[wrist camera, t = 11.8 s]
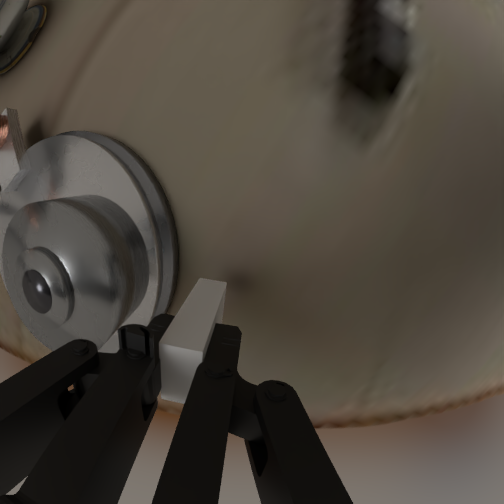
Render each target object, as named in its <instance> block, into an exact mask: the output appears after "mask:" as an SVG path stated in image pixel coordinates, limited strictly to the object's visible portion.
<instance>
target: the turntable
mask: <svg viewBox="0 0 504 504" xmlns="http://www.w3.org/2000/svg"><path fill="white" fill-rule="evenodd" d="M0 185H1V189H2V190H1V193H0V272H1V275H2V278H3V281H4V284H5V287H6V283H5V278H4V272H3V263H2V251H3V242H4V237H5V233H6V230H7V227H8V225H9V223H10V221H11V219H12V218H13V216H14V215H15V214H16V212H17V211H18V210H19V209H21V208H22V207H23V206H25V205H27V204H29V203H33V202H38V201H44V200H51V199H58V198H65V197H72V196H80V195H98V196H103V197H105V198H108V199H110V200H112V201H113V202H115V203H116V204H118V205H119V206H120V207H122V208H123V209H124V210H125V211H126V212H127V213H128V214H129V216H130V217H131V218H132V220H133V221H134V222H135V224H136V226H137V227H138V229H139V231H140V233H141V235H142V237H143V240H144V243H145V246H146V249H147V253H148V259H149V283H148V288H147V292H146V294H145V297H144V299H143V301H142V302H141V304H140V306H139V307H138V308H137V309H136V310H135V311H134V313H133V314H132V315H131V316H130V317H129V318H128V319H127V320H126V321H125V322H124V323H123V324H122V325H121V326H124V325H127V324H140V325H144V326H146V327H147V326H148V324H149V323H150V322H151V320H152V319H153V318H154V315H155V313H156V311H157V308H158V304H159V300H160V297H161V291H162V283H163V254H162V244H161V239H160V234H159V229H158V225H157V222H156V219H155V215H154V212H153V209H152V207H151V204H150V202H149V200H148V198H147V195H146V193H145V191H144V189H143V188H142V186H141V184H140V182H139V181H138V179H137V177H136V176H135V175H134V173H133V172H132V171H131V169H130V168H129V167H128V165H127V164H126V163H125V162H124V161H123V160H122V159H121V158H120V157H119V156H118V155H117V154H115V153H114V152H113V151H111V150H110V149H109V148H107V147H106V146H104V145H102V144H100V143H98V142H96V141H94V140H90V139H86V138H83V137H78V136H70V135H59V136H52V137H49V138H46V139H43V140H41V141H39V142H38V143H36V144H34V145H32V146H31V147H30V148H29V149H28V150H26V148H25V144H24V140H23V136H22V132H21V127H20V123H19V118H18V113H17V110H16V109H10V108H6V109H5V110H4V111H3V113H2V114H1V115H0ZM6 289H7V287H6ZM7 291H8V290H7ZM8 294H9V293H8ZM119 349H120V348H119V339H118V330H117V331H116V332H115V333H114V334H113V335H112V336H111V337H110V339H109V340H108V341H107V342H106V343H105V344H104V345H103V346H102V347H101V349H100V350H98V352H104V353H117V351H118V350H119Z"/></svg>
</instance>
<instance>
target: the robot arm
mask: <svg viewBox="0 0 504 504" xmlns="http://www.w3.org/2000/svg"><path fill="white" fill-rule="evenodd" d="M226 286H227V282H221V281H215V280H209V279H203V278H199V280H198V281H197V283H196V284H195V286H194V288H193V289H192V291H191V292H190V294H189V295H188V297H187V298H186V300H185V302H184V303H183V305H182V306H181V308H180V309H179V311H178V313H177V314H176V316H172V315H167V314H163V313H161V314H159V315H157V316H155V317H154V318H153V319H152V320H151V322H150V323H149V324H148V326H147V327H146V326H144V325H140V324H127V325H124V326H121V327H120V328H119V329H118V339H119V348H120V349H119V350H118V351H117V353H104V352H98V349H97V346H96V344H95V343H93V342H92V341H90V340H87V339H75V340H72V341H70V342H68V343H66V344H65V345H63V346H61V347H60V348H58V349H56V350H55V351H53V352H51V353H50V354H48V355H46V356H45V357H43V358H41V359H40V360H38V361H36V362H35V363H33V364H31V365H30V366H28V367H26V368H25V369H23V370H21V371H20V372H18V373H16V374H15V375H13V376H12V377H10V378H9V379H7V380H5V381H3V382H2V383H0V504H118V501H119V498H120V496H121V493H122V491H123V488H124V486H125V483H126V481H127V478H128V476H129V473H130V471H131V468H132V466H133V464H134V461H135V459H136V456H137V454H138V452H139V449H140V447H141V444H142V442H143V440H144V437H145V435H146V432H147V430H148V427H149V425H150V423H151V421H152V418H153V416H154V414H155V411H156V409H157V405H158V401H157V396H158V394H159V392H160V390H161V398H162V399H166V400H170V401H174V402H179V403H183V404H184V407H183V410H182V413H181V416H180V419H179V422H178V425H177V427H176V431H175V434H174V437H173V439H172V443H171V445H170V449H169V452H168V455H167V458H166V461H165V464H164V467H163V470H162V473H161V476H160V479H159V482H158V485H157V489H156V491H155V495H154V498H153V501H152V504H218V499H219V492H220V486H221V478H222V472H223V465H224V458H225V451H226V444H227V437H228V432H229V433H231V434H234V435H236V436H239V437H241V438H244V439H245V440H244V441H245V445H246V449H247V453H248V457H249V461H250V464H251V469H252V472H253V476H254V480H255V483H256V487H257V490H258V494H259V497H260V501H261V504H353V502H352V500H351V498H350V496H349V495H348V493H347V491H346V489H345V487H344V485H343V483H342V481H341V479H340V478H339V476H338V474H337V472H336V470H335V468H334V466H333V464H332V462H331V460H330V458H329V457H328V455H327V452H326V451H325V449H324V447H323V445H322V443H321V441H320V439H319V437H318V435H317V433H316V431H315V429H314V427H313V425H312V423H311V421H310V419H309V417H308V415H307V413H306V411H305V409H304V407H303V405H302V403H301V401H300V399H299V397H298V395H297V393H296V391H295V390H294V389H293V387H291V386H290V385H288V384H287V383H284V382H281V381H275V380H269V381H264V382H262V383H261V384H259V385H258V386H257V385H254V384H251V383H249V382H247V381H245V380H244V379H243V378H242V377H241V376H240V375H239V373H238V371H237V364H238V357H239V350H240V343H241V335H242V333H241V331H240V329H239V328H238V327H237V326H231V325H224V324H222V318H223V310H224V302H225V294H226ZM72 384H73V387H74V389H72V390H70V391H68V387H69V386H71V385H72ZM27 476H28V477H27ZM25 477H27V478H26V480H25V482H24V483H23V485H22V486H21V488H20V490H19V491H18V492H17V493H16V494H14V495H6V493H8V492H9V491H10V490H11V489H13V488H14V487H15V486H16V485H17V484H18V483H20V482H21V481H22V480H23V479H24V478H25Z"/></svg>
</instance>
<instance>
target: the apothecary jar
mask: <svg viewBox="0 0 504 504" xmlns="http://www.w3.org/2000/svg"><path fill="white" fill-rule="evenodd" d="M28 3H29V0H0V74H3V73H5V72H7V71H8V70H10V69H11V68H12V67H13V66H14V65H15V64H16V63H17V62H18V61H19V60H20V59H21V58H22V57H23V55H24V54H25V53H26V52H27V50H28V49H29V47H30V46H31V45H32V43H33V41H34V38H35V35H36V33H37V32H38V31H39V30H40V29H41V27H42V25H43V23H44V21H45V18H46V14H47V10H46V7H45V6H44V5H36V6H34V7H32V8H30V9H28V10H26V9H27V6H28Z"/></svg>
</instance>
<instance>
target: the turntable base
mask: <svg viewBox="0 0 504 504" xmlns="http://www.w3.org/2000/svg"><path fill="white" fill-rule="evenodd" d="M59 135H70V136H78V137H83V138H86V139H90V140H94V141H96V142H98V143H100V144H102V145H104V146H106V147H107V148H109V149H110V150H111V151H113V152H114V153H115V154H117V155H118V156H119V157H120V158H121V159H122V160H123V161H124V162H125V163H126V164H127V165H128V167H129V168H130V169H131V171H132V172H133V173H134V175H135V176H136V177H137V179H138V181H139V182H140V184H141V186H142V188H143V189H144V191H145V193H146V195H147V198H148V200H149V202H150V204H151V207H152V209H153V212H154V215H155V219H156V222H157V225H158V229H159V234H160V239H161V244H162V254H163V283H162V291H161V297H160V300H159V304H158V308H157V311H156V313H155V315H154V317H155V316H157V315H159V314H161V313H163V314H166V312H167V310H168V308H169V305H170V303H171V301H172V298H173V295H174V291H175V287H176V283H177V275H178V265H179V250H178V240H177V232H176V228H175V223H174V219H173V215H172V212H171V209H170V206H169V203H168V200H167V198H166V196H165V194H164V192H163V190H162V187H161V185H160V184H159V182H158V180H157V179H156V177H155V176H154V174H153V172H152V171H151V170H150V168H149V167H148V166H147V165H146V164H145V162H144V161H143V160H142V159H141V158H140V157H139V156H138V155H137V154H136V153H135V152H134V151H132V150H131V149H130V148H129V147H127V146H126V145H124V144H122V143H121V142H119V141H117V140H115V139H113V138H110V137H108V136H104V135H100V134H96V133H91V132H87V131H70V132H65V133H61V134H58V135H56V136H59Z"/></svg>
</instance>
